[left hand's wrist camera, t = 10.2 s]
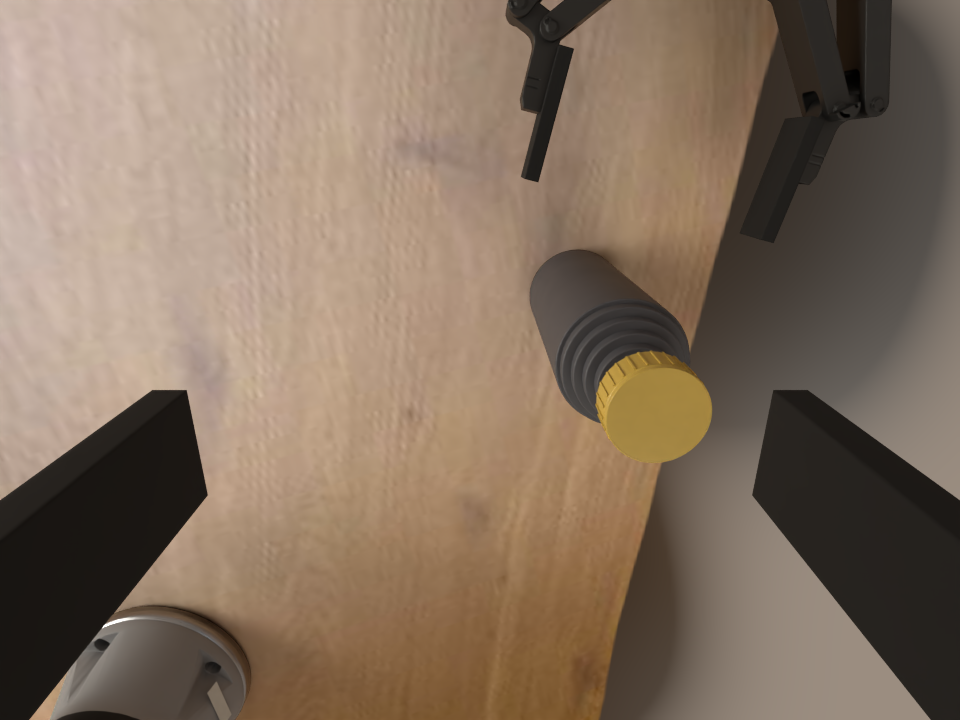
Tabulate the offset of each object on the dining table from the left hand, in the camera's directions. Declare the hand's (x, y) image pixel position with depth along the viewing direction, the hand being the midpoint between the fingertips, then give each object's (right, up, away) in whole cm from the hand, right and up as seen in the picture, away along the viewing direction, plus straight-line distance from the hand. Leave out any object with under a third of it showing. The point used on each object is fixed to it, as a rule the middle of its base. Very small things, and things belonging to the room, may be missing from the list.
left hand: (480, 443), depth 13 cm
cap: (+7, 0, +9) cm, 11 cm away
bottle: (+7, +7, +27) cm, 29 cm away
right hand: (+9, +10, +19) cm, 23 cm away
